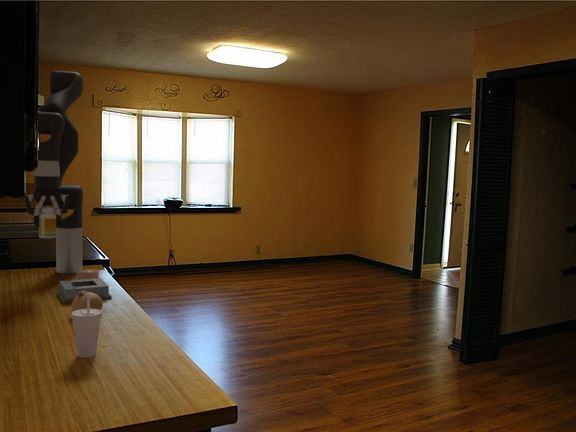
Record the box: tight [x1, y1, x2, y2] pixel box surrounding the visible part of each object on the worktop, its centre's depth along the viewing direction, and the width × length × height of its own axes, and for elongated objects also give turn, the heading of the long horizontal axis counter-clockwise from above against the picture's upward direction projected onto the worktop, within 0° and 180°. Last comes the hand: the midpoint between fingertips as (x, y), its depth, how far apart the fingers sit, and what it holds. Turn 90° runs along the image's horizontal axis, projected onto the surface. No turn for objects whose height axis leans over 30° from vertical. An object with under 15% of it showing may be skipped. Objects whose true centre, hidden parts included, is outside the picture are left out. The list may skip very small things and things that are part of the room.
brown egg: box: [76, 268, 100, 280], centre depth 182 cm, size 7×7×5 cm
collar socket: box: [56, 277, 113, 305], centre depth 167 cm, size 14×14×4 cm
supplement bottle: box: [37, 206, 57, 239], centre depth 171 cm, size 5×5×10 cm
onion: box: [71, 291, 104, 312], centre depth 146 cm, size 8×8×7 cm
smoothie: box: [71, 293, 103, 359], centre depth 116 cm, size 6×6×14 cm
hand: (47, 226), depth 172 cm, fingers closed on supplement bottle, 5 cm apart
